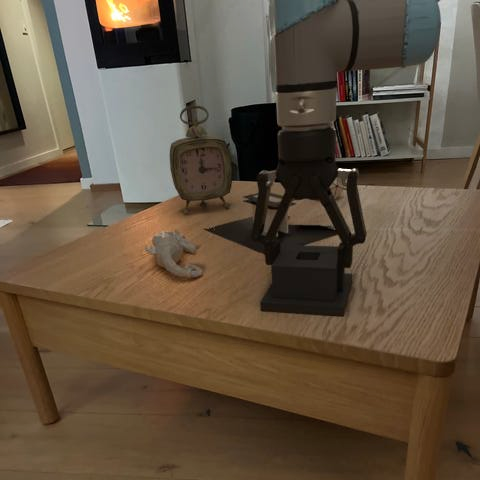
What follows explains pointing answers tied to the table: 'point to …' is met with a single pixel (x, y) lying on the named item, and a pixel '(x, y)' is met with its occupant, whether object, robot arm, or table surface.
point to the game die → (337, 187)
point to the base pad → (309, 302)
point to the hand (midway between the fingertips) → (308, 285)
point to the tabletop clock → (200, 165)
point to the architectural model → (286, 234)
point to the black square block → (305, 273)
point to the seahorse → (173, 253)
